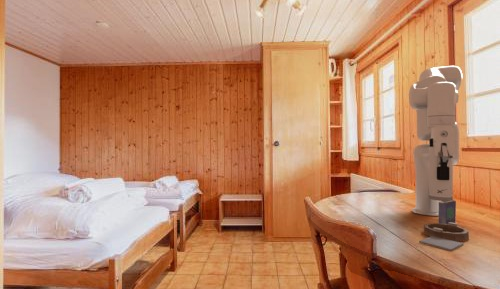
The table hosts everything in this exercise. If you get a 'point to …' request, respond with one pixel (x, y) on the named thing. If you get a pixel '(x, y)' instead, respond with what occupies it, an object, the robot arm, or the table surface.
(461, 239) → the collar
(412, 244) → the table surface
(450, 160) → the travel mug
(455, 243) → the mat
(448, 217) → the flask
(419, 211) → the robot arm
